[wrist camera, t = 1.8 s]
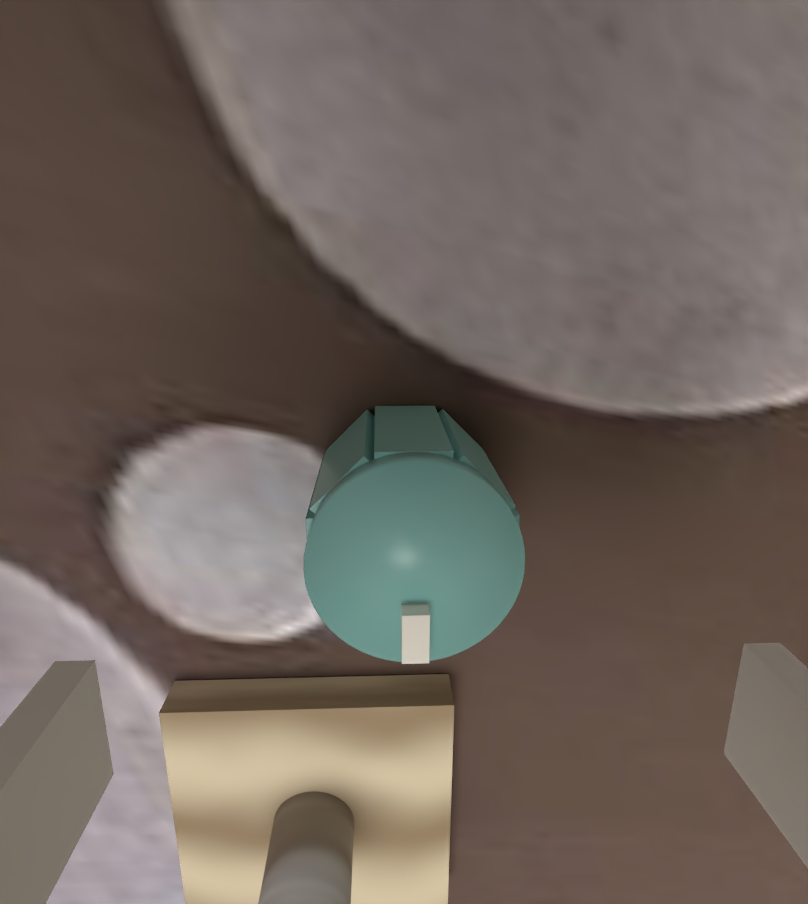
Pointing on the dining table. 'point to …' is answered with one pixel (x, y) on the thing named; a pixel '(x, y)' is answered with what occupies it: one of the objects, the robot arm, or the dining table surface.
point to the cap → (411, 537)
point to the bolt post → (311, 788)
